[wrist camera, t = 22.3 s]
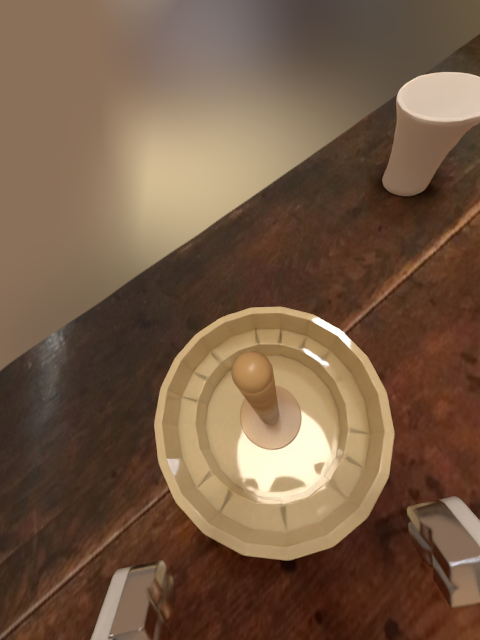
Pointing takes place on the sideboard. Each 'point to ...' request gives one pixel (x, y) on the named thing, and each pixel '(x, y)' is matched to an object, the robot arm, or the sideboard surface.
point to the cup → (429, 127)
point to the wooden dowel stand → (265, 403)
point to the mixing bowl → (282, 464)
